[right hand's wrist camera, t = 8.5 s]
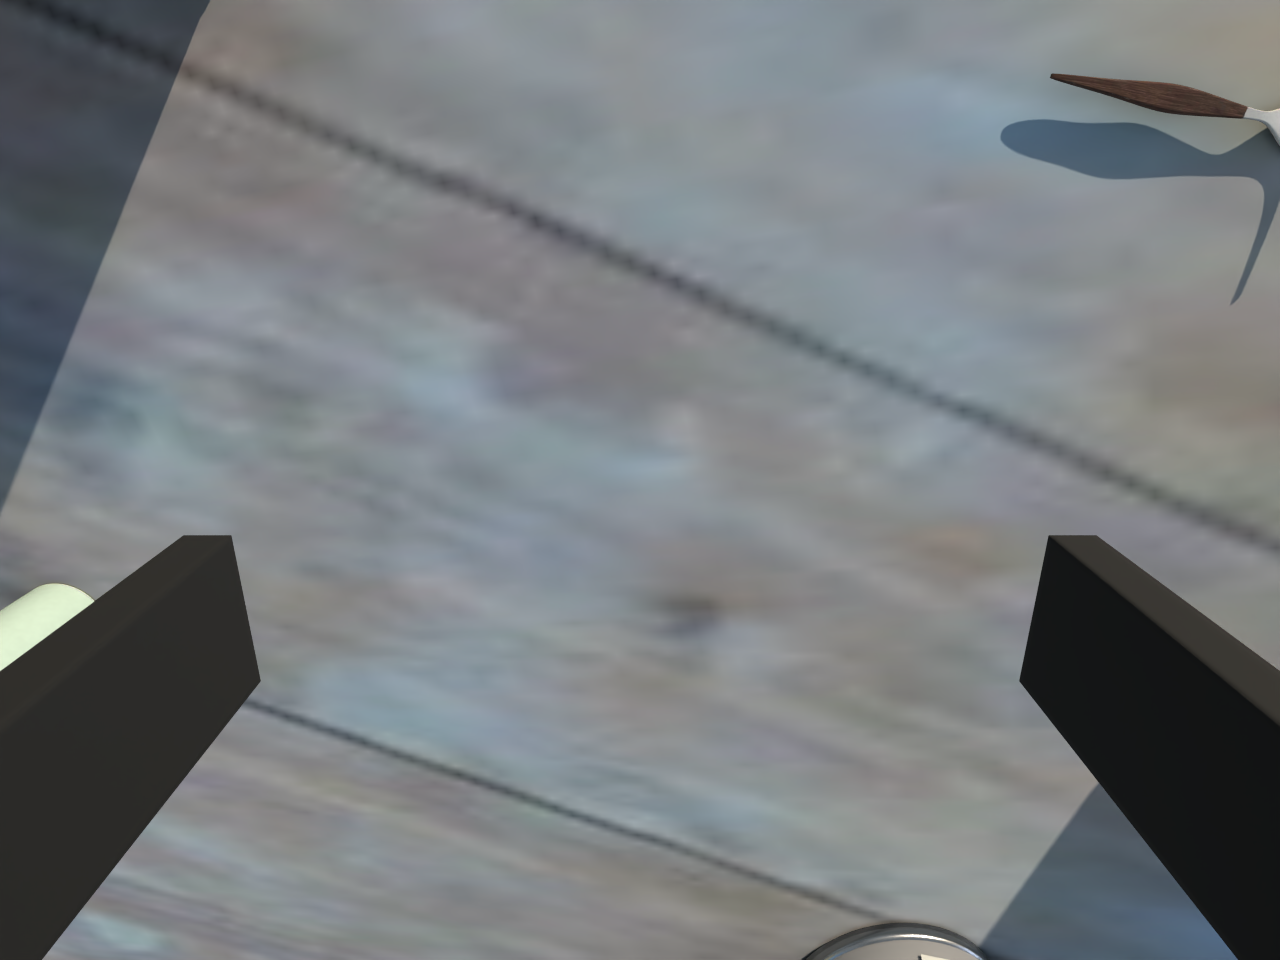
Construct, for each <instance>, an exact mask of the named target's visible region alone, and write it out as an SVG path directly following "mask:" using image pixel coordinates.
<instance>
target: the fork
mask: <svg viewBox="0 0 1280 960" xmlns="http://www.w3.org/2000/svg"><path fill="white" fill-rule="evenodd" d="M1050 78H1051V79H1054V80H1057V81H1060V82H1064V83H1067V84H1070V85H1074V86H1077V87H1081V88H1084V89H1088V90H1091V91H1095V92H1098V93H1101V94H1105V95H1108V96H1111V97H1114V98H1117V99H1120V100H1123V101H1126V102H1130V103H1133V104H1136V105H1139V106H1142V107H1145V108H1148V109H1152V110H1155V111H1160V112H1165V113H1171V114H1180V115H1192V116H1208V117H1225V118H1240V119H1251V120H1257V121H1260V122H1262V123H1264V124H1265V125H1266V126H1267V127H1268V128H1269V130H1270V131H1271V133H1272V135H1273V136H1274V138H1275V140H1276V142H1277V143H1278V144H1279V146H1280V108H1279V109H1276V110H1273V111H1260V110H1256V109H1253V108H1250V107H1247V106H1244V105H1241V104H1238V103H1235V102H1232V101H1229V100H1227V99H1224V98H1221V97H1218V96H1215V95H1212V94H1209V93H1206V92H1203V91H1200V90H1197V89H1194V88H1190V87H1186V86H1182V85H1177V84H1170V83H1161V82H1148V81H1132V80H1118V79H1106V78H1096V77H1086V76H1076V75H1066V74H1051V77H1050Z"/></svg>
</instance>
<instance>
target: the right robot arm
mask: <svg viewBox="0 0 1280 960" xmlns="http://www.w3.org/2000/svg"><path fill="white" fill-rule="evenodd" d="M260 681H261V680H260V675H259V670H258V665H257V660H256V655H255V651H254V646H253V641H252V636H251V631H250V626H249V621H248V616H247V611H246V606H245V601H244V596H243V591H242V586H241V581H240V576H239V571H238V566H237V561H236V556H235V551H234V546H233V541H232V536H231V535H184V536H182V537H181V538H180V539H178V540H177V541H175V542H174V543H173V544H171V545H170V546H169V547H167V548H166V549H165V550H163V551H162V552H161V553H159V554H158V555H157V556H155V557H154V558H152V559H151V560H150V561H148V562H147V563H146V564H144V565H143V566H142V567H140V568H139V569H138V570H136V571H135V572H134V573H132V574H131V575H129V576H128V577H127V578H125V579H124V580H123V581H121V582H120V583H119V584H117V585H116V586H115V587H113V588H112V589H111V590H109V591H108V592H106V593H105V594H104V595H102V596H101V597H100V598H98V599H97V600H96V601H94V602H93V603H92V604H90V605H89V606H88V607H86V608H85V609H83V610H82V611H81V612H79V613H78V614H77V615H75V616H74V617H73V618H71V619H70V620H69V621H67V622H66V623H65V624H63V625H62V626H60V627H59V628H58V629H56V630H55V631H54V632H52V633H51V634H50V635H48V636H47V637H46V638H44V639H43V640H42V641H40V642H39V643H37V644H36V645H35V646H33V647H32V648H31V649H29V650H28V651H27V652H25V653H24V654H23V655H21V656H20V657H19V658H17V659H16V660H15V661H13V662H12V663H10V664H9V665H8V666H6V667H5V668H4V669H2V670H1V671H0V960H42V959H43V958H44V956H45V955H46V954H47V952H48V951H49V950H50V949H51V947H52V946H53V945H54V944H55V942H56V941H57V940H58V938H59V937H60V936H61V935H62V933H63V932H64V931H65V930H66V928H67V927H68V926H69V924H70V923H71V922H72V921H73V919H74V918H75V917H76V916H77V914H78V913H79V912H80V910H81V909H82V908H83V907H84V905H85V904H86V903H87V902H88V900H89V899H90V898H91V896H92V895H93V894H94V893H95V891H96V890H97V889H98V888H99V886H100V885H101V884H102V882H103V881H104V880H105V879H106V877H107V876H108V875H109V874H110V872H111V871H112V870H113V868H114V867H115V866H116V865H117V863H118V862H119V861H120V860H121V858H122V857H123V856H124V854H125V853H126V852H127V851H128V849H129V848H130V847H131V846H132V844H133V843H134V842H135V840H136V839H137V838H138V837H139V835H140V834H141V833H142V832H143V830H144V829H145V828H146V826H147V825H148V824H149V823H150V821H151V820H152V819H153V817H154V816H155V815H156V814H157V812H158V811H159V810H160V809H161V807H162V806H163V805H164V803H165V802H166V801H167V800H168V798H169V797H170V796H171V795H172V793H173V792H174V791H175V789H176V788H177V787H178V786H179V784H180V783H181V782H182V781H183V779H184V778H185V777H186V775H187V774H188V773H189V772H190V770H191V769H192V768H193V767H194V765H195V764H196V763H197V761H198V760H199V759H200V758H201V756H202V755H203V754H204V753H205V751H206V750H207V749H208V747H209V746H210V745H211V744H212V742H213V741H214V740H215V739H216V737H217V736H218V735H219V733H220V732H221V731H222V730H223V728H224V727H225V726H226V725H227V723H228V722H229V721H230V719H231V718H232V717H233V716H234V714H235V713H236V712H237V711H238V709H239V708H240V707H241V705H242V704H243V703H244V702H245V700H246V699H247V698H248V697H249V695H250V694H251V693H252V691H253V690H254V689H255V688H256V686H257V685H258V684H259V683H260ZM1019 681H1020V683H1021V684H1022V685H1023V686H1024V688H1025V689H1026V690H1027V691H1028V693H1029V694H1030V695H1031V697H1032V698H1033V699H1034V700H1035V702H1036V703H1037V704H1038V705H1039V707H1040V708H1041V709H1042V711H1043V712H1044V713H1045V714H1046V716H1047V717H1048V718H1049V719H1050V721H1051V722H1052V723H1053V725H1054V726H1055V727H1056V728H1057V730H1058V731H1059V732H1060V733H1061V735H1062V736H1063V737H1064V739H1065V740H1066V741H1067V742H1068V744H1069V745H1070V746H1071V747H1072V749H1073V750H1074V751H1075V753H1076V754H1077V755H1078V756H1079V758H1080V759H1081V760H1082V761H1083V763H1084V764H1085V765H1086V767H1087V768H1088V769H1089V770H1090V772H1091V773H1092V774H1093V775H1094V777H1095V778H1096V779H1097V781H1098V782H1099V783H1100V784H1101V786H1102V787H1103V788H1104V789H1105V791H1106V792H1107V793H1108V795H1109V796H1110V797H1111V798H1112V800H1113V801H1114V802H1115V803H1116V805H1117V806H1118V807H1119V809H1120V810H1121V811H1122V812H1123V814H1124V815H1125V816H1126V817H1127V819H1128V820H1129V821H1130V823H1131V824H1132V825H1133V826H1134V828H1135V829H1136V830H1137V832H1138V833H1139V834H1140V835H1141V837H1142V838H1143V839H1144V840H1145V842H1146V843H1147V844H1148V846H1149V847H1150V848H1151V849H1152V851H1153V852H1154V853H1155V854H1156V856H1157V857H1158V858H1159V860H1160V861H1161V862H1162V863H1163V865H1164V866H1165V867H1166V868H1167V870H1168V871H1169V872H1170V874H1171V875H1172V876H1173V877H1174V879H1175V880H1176V881H1177V882H1178V884H1179V885H1180V886H1181V888H1182V889H1183V890H1184V891H1185V893H1186V894H1187V895H1188V896H1189V898H1190V899H1191V900H1192V902H1193V903H1194V904H1195V905H1196V907H1197V908H1198V909H1199V910H1200V912H1201V913H1202V914H1203V916H1204V917H1205V918H1206V919H1207V921H1208V922H1209V923H1210V924H1211V926H1212V927H1213V928H1214V930H1215V931H1216V932H1217V933H1218V935H1219V936H1220V937H1221V938H1222V940H1223V941H1224V942H1225V944H1226V945H1227V946H1228V947H1229V949H1230V950H1231V951H1232V952H1233V954H1234V955H1235V956H1236V958H1237V959H1238V960H1280V671H1279V670H1278V669H1276V668H1275V667H1274V666H1272V665H1271V664H1270V663H1268V662H1267V661H1265V660H1264V659H1263V658H1261V657H1260V656H1259V655H1257V654H1256V653H1255V652H1253V651H1252V650H1251V649H1249V648H1248V647H1247V646H1245V645H1244V644H1243V643H1241V642H1240V641H1238V640H1237V639H1236V638H1234V637H1233V636H1232V635H1230V634H1229V633H1228V632H1226V631H1225V630H1224V629H1222V628H1221V627H1220V626H1218V625H1217V624H1215V623H1214V622H1213V621H1211V620H1210V619H1209V618H1207V617H1206V616H1205V615H1203V614H1202V613H1201V612H1199V611H1198V610H1197V609H1195V608H1194V607H1192V606H1191V605H1190V604H1188V603H1187V602H1186V601H1184V600H1183V599H1182V598H1180V597H1179V596H1178V595H1176V594H1175V593H1174V592H1172V591H1171V590H1169V589H1168V588H1167V587H1165V586H1164V585H1163V584H1161V583H1160V582H1159V581H1157V580H1156V579H1155V578H1153V577H1152V576H1151V575H1149V574H1148V573H1146V572H1145V571H1144V570H1142V569H1141V568H1140V567H1138V566H1137V565H1136V564H1134V563H1133V562H1132V561H1130V560H1129V559H1128V558H1126V557H1125V556H1123V555H1122V554H1121V553H1119V552H1118V551H1117V550H1115V549H1114V548H1113V547H1111V546H1110V545H1109V544H1107V543H1106V542H1105V541H1103V540H1102V539H1100V538H1099V537H1098V536H1096V535H1049V536H1048V541H1047V546H1046V551H1045V556H1044V561H1043V566H1042V571H1041V576H1040V581H1039V586H1038V591H1037V596H1036V601H1035V606H1034V611H1033V616H1032V621H1031V626H1030V631H1029V636H1028V641H1027V646H1026V651H1025V655H1024V660H1023V665H1022V670H1021V675H1020V680H1019ZM806 960H989V959H988V958H987V956H986V955H985V954H984V953H983V952H982V951H981V950H980V949H979V948H978V947H977V946H976V945H975V944H973V943H972V942H970V941H969V940H967V939H966V938H964V937H962V936H960V935H958V934H956V933H954V932H951V931H949V930H946V929H943V928H939V927H935V926H931V925H925V924H917V923H890V924H881V925H875V926H870V927H866V928H862V929H859V930H855V931H852V932H850V933H847V934H844V935H842V936H840V937H838V938H836V939H834V940H832V941H830V942H828V943H827V944H825V945H823V946H822V947H820V948H819V949H817V950H816V951H815V952H814V953H812V954H811V955H810V956H809V957H808V958H807V959H806Z"/></svg>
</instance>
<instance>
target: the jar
mask: <svg viewBox="0 0 1280 960" xmlns="http://www.w3.org/2000/svg"><path fill="white" fill-rule="evenodd" d="M93 602H94V600H93V599H92V598H91V597H89V596H88V595H87V594H85V593H84V592H82V591H81V590H79V589H76V588H74V587H71V586H68V585H64V584H46V585H42V586H39V587H37V588H35V589H34V590H32V591H30V592H29V593H27V594H26V595H24V596H23V597H21V598H20V599H18V600H16V601H15V602H13V603H12V604H10V605H9V606H7V607H6V608H4V609H3V610H1V611H0V671H1V670H2V669H4V668H5V667H6V666H8V665H9V664H10V663H12V662H13V661H15V660H16V659H17V658H19V657H20V656H21V655H23V654H24V653H25V652H27V651H28V650H29V649H31V648H32V647H33V646H35V645H36V644H37V643H39V642H40V641H42V640H43V639H44V638H46V637H47V636H48V635H50V634H51V633H52V632H54V631H55V630H56V629H58V628H59V627H60V626H62V625H63V624H65V623H66V622H67V621H69V620H70V619H71V618H73V617H74V616H75V615H77V614H78V613H79V612H81V611H82V610H83V609H85V608H86V607H88V606H89V605H90V604H92V603H93Z"/></svg>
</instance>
